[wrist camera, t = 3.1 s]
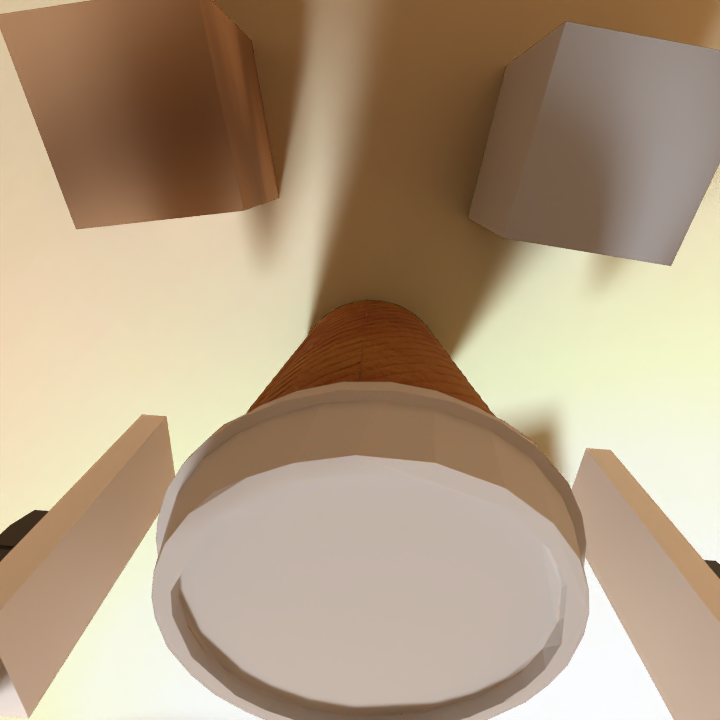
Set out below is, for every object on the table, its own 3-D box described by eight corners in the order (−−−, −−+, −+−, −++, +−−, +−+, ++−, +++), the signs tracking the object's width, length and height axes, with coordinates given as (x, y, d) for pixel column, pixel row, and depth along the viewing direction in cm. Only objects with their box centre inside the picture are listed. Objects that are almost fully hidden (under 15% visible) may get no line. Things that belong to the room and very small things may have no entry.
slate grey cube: (505, 66, 14) (566, 21, 10) (645, 92, 15) (768, 59, 10) (467, 217, 16) (502, 237, 12) (590, 238, 17) (670, 265, 12)
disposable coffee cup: (419, 218, 16) (507, 324, 6) (507, 402, 20) (668, 691, 9) (225, 327, 19) (17, 555, 8) (334, 476, 22) (296, 781, 11)
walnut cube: (112, 60, 15) (-5, 15, 10) (251, 41, 14) (195, -16, 10) (156, 211, 17) (76, 229, 12) (279, 197, 16) (243, 210, 12)
